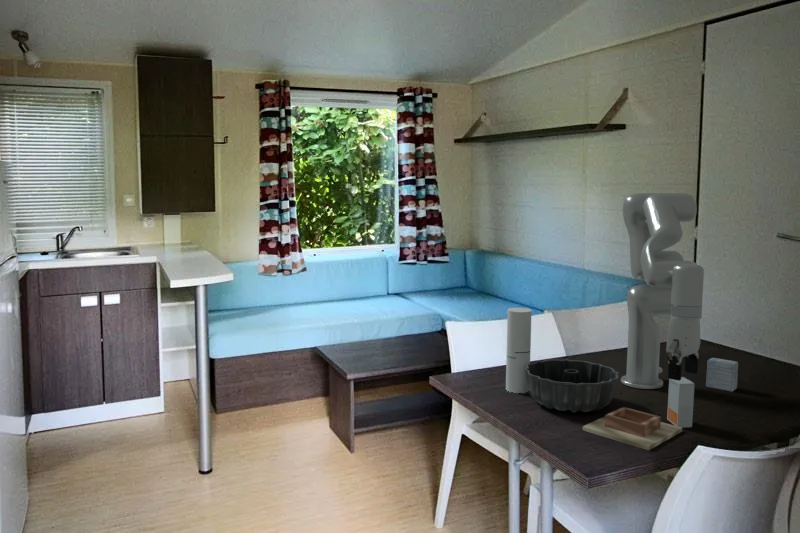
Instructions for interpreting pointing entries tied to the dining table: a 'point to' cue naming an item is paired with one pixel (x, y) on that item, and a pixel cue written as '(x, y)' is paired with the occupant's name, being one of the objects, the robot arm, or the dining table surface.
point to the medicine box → (722, 374)
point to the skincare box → (680, 402)
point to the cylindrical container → (518, 349)
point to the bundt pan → (571, 384)
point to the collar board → (633, 428)
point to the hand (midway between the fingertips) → (682, 376)
